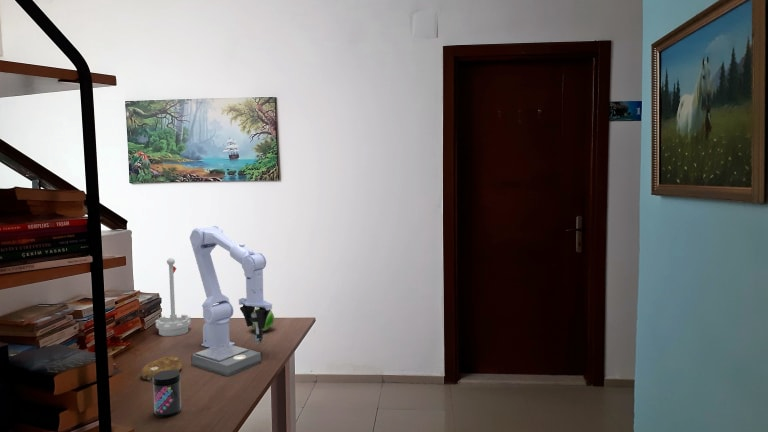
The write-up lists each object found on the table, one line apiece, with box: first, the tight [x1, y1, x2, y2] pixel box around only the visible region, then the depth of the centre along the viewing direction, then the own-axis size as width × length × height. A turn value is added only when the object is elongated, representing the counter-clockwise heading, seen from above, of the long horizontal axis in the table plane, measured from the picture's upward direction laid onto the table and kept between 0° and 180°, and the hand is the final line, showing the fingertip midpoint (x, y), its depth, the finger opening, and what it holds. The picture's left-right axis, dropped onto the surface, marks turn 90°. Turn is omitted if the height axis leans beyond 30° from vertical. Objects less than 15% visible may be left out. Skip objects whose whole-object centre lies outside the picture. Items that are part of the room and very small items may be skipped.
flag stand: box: [155, 257, 192, 337], centre depth 210 cm, size 13×13×30 cm
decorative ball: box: [251, 307, 275, 332], centre depth 211 cm, size 10×10×10 cm
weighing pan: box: [194, 343, 249, 362], centre depth 177 cm, size 12×12×1 cm
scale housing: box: [190, 348, 262, 377], centre depth 176 cm, size 18×14×4 cm
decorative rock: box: [140, 356, 183, 383], centre depth 169 cm, size 11×4×15 cm
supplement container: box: [152, 370, 182, 418], centre depth 141 cm, size 7×7×10 cm
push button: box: [249, 312, 264, 344], centre depth 184 cm, size 7×5×10 cm
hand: (255, 327), depth 184 cm, fingers closed on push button, 5 cm apart
